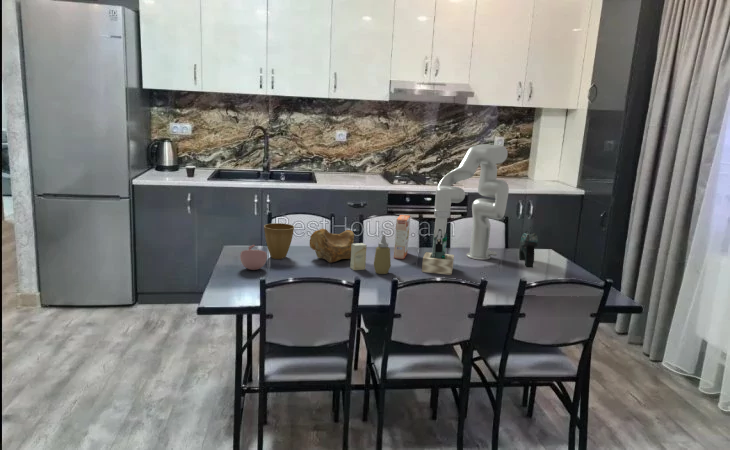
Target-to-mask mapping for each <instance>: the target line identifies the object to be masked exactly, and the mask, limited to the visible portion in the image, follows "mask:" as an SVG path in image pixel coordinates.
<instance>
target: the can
mask: <svg viewBox="0 0 730 450" xmlns="http://www.w3.org/2000/svg"><path fill="white" fill-rule="evenodd" d="M432 237H433V239H432V250H431V253H432V258H438V259H445V254H447V243H448V242H447V240H448V233H447V232H446V233H445V236H444V238H443V240H442V244H443V245H442V252H435V247H436V240H437V236H436V237H435V238H434V235H433V236H432ZM441 238H442V236H441Z"/></svg>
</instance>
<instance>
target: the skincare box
mask: <svg viewBox="0 0 730 450" xmlns="http://www.w3.org/2000/svg"><path fill="white" fill-rule="evenodd" d="M366 261H367V244H366V243H364V242H360V243H359V242H358V243H357V242H356V243H354V244H351V258H350V264H349V265H350V266H349V267H350V269H351V270H353V271H361V270H366Z"/></svg>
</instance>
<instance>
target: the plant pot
mask: <svg viewBox="0 0 730 450" xmlns="http://www.w3.org/2000/svg"><path fill="white" fill-rule="evenodd" d="M263 228H264V229H263V230H264V236H265V238H264V239H265V242H266V246H267V250H268V253H269V256H270V258H271V259H276V260H282V259H283V260H284V259H286V258H287V256H288V255H287V254H288V251H289V250H290V247H291V243H292V239H293V237H294V231H295V226H294V225H293V224H289V223H282V222H281V223H279V222H278V223H275V222H273V223H267V224H264V225H263Z"/></svg>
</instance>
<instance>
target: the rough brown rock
mask: <svg viewBox="0 0 730 450" xmlns="http://www.w3.org/2000/svg"><path fill="white" fill-rule="evenodd" d="M354 239H355V232H353V231H352V230H348V229H347V230H344V231H342V232H341V233H331V232H329V231H328V230H327V229H326V228H320V229H318V230H315V231H313V233H312V234H311V235H310V238H309V247H310V249H312V250H313V251H314V252H315V255H316V257H317V258H318V259H323V260H326V262H328V263H329V264H332V263H335V262H338V261H340V260H351V244H355V243H354V242H355V240H354Z"/></svg>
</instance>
